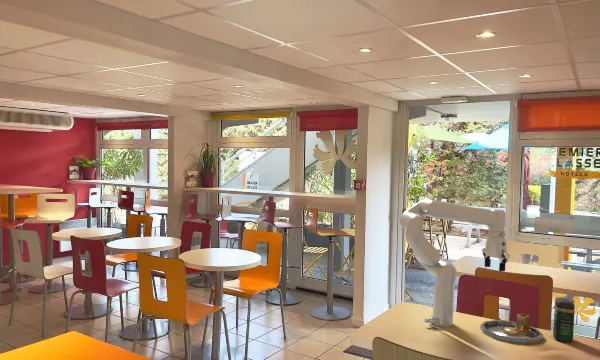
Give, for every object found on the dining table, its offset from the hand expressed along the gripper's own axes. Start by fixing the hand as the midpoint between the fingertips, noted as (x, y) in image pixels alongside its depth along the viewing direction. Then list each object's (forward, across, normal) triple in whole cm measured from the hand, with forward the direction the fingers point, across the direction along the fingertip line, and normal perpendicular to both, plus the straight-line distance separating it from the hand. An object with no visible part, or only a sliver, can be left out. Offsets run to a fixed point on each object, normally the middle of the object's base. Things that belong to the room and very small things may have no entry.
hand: (494, 268), depth 228 cm
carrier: (+28, -15, +3) cm, 32 cm away
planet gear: (+27, -15, -4) cm, 31 cm away
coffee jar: (+28, -24, -19) cm, 42 cm away
